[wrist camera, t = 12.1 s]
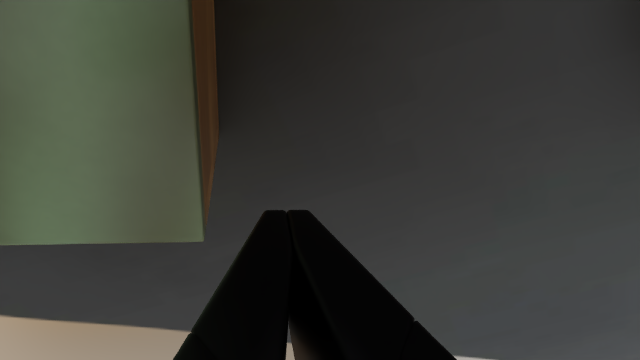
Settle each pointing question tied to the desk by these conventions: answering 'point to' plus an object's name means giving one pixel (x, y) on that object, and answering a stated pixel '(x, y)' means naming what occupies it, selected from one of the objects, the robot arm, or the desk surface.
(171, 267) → the desk surface
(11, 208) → the lid
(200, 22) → the chest
